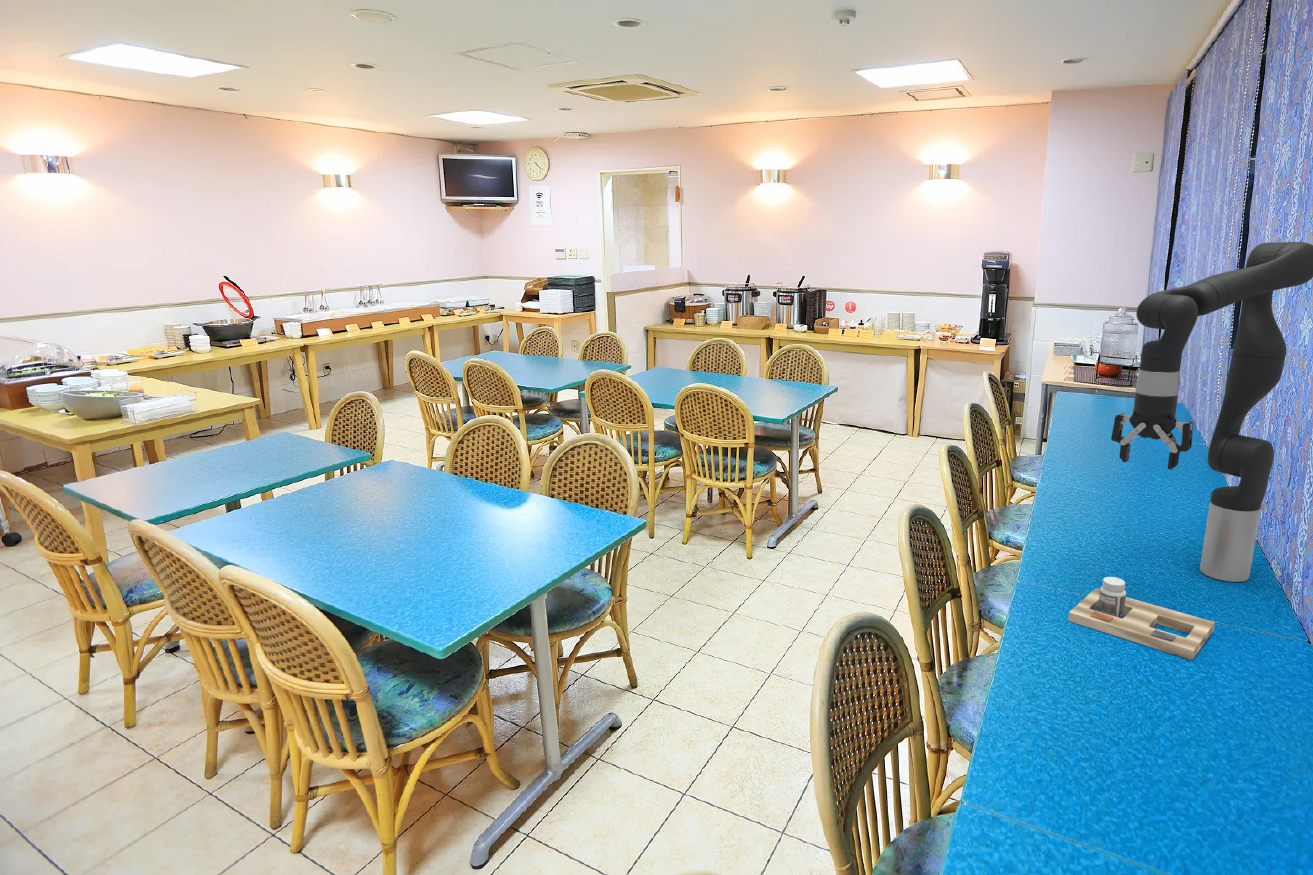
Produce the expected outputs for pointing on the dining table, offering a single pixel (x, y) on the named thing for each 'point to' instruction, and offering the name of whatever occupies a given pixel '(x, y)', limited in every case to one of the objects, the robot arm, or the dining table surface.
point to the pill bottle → (1112, 597)
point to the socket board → (1146, 625)
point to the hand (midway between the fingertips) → (1147, 464)
